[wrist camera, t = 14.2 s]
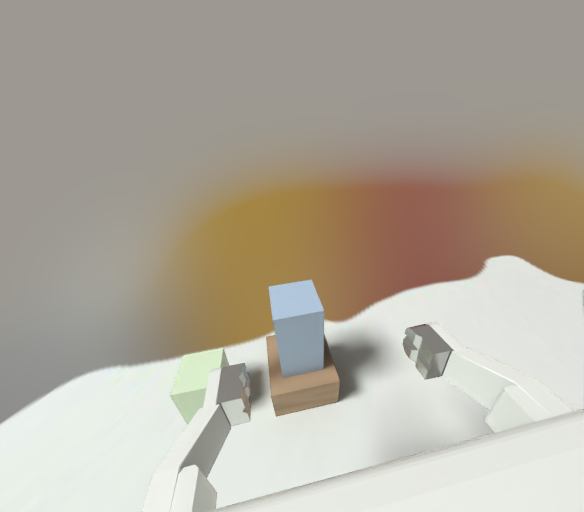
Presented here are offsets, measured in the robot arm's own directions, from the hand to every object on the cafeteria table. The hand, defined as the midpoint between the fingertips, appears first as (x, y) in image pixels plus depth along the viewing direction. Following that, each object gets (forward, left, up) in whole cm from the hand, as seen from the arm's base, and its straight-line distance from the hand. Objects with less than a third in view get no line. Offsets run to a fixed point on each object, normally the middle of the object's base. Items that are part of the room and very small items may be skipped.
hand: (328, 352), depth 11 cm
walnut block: (-8, -9, -20) cm, 23 cm away
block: (+1, -17, -20) cm, 26 cm away
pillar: (-8, -9, -15) cm, 19 cm away
